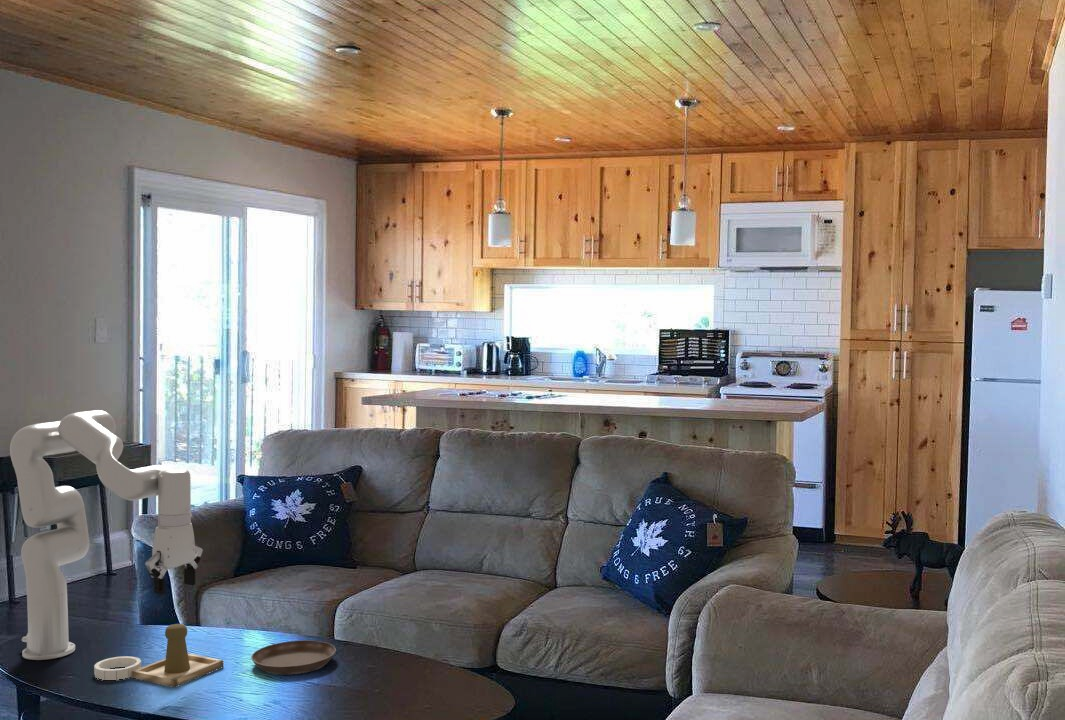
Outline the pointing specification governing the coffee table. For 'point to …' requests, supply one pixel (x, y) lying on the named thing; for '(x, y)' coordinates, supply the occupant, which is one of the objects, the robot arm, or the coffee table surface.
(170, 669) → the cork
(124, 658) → the holder ring
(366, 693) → the coffee table surface
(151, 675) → the tray
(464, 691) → the coffee table surface
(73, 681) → the coffee table surface
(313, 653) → the plant saucer
